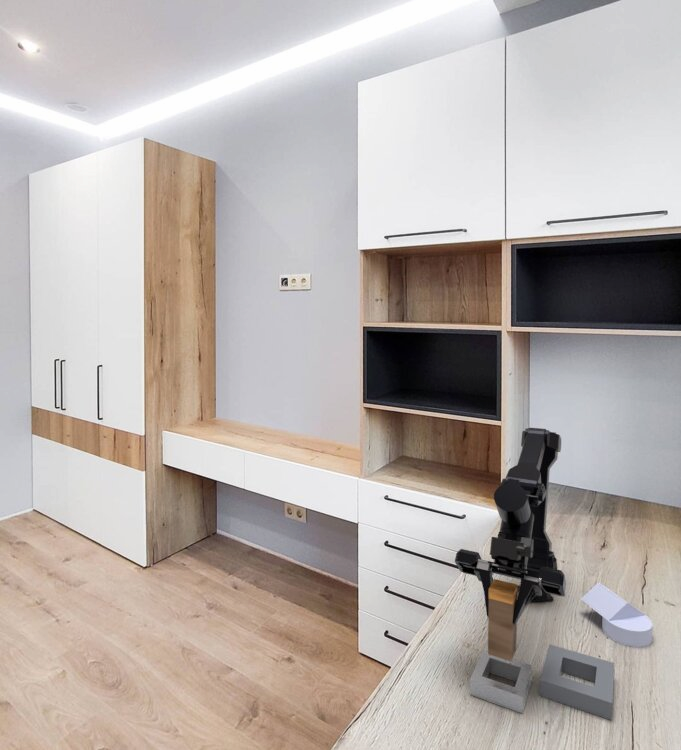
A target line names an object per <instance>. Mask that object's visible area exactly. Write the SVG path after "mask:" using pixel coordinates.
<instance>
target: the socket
mask: <svg viewBox="0 0 681 750" xmlns="http://www.w3.org/2000/svg"><path fill="white" fill-rule="evenodd" d="M563 674H568V675H570V676H574V677H576V678H577V677H578V678H580V679H582V680H583V679H584V680H587V681H590V682H594V685H590V684H588V683H585V682H580V681H578V680H576V679H575V680H574V679H572V678H569V677H565V676H563ZM614 679H615V662H612V661H609V660H605V659H601V658H599V657H595V656H593V655H592V656H591V655H589V654H585V653H580V652H579V651H578V652H577V651H574V650H571V649H568V648H564V647H563V648H562V647H560V646H556V645H553V644H548V649H547V652H546V656H545V661H544V664H543V668H542V673H541V676H540V680H539V696H540V697H542V698H545V699H548V700H551V701H554V702H557V703H560V704H563V705H565V706H569V707H572V708H575V709H577V710H581V711H583V712H586V713H588V714H592V715H595V716H598V717H602V718H604V719H607V720H610V721H612V718H613V705H614V704H613V702H614V681H615V680H614Z"/></svg>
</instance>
